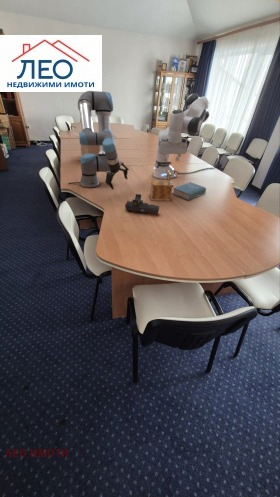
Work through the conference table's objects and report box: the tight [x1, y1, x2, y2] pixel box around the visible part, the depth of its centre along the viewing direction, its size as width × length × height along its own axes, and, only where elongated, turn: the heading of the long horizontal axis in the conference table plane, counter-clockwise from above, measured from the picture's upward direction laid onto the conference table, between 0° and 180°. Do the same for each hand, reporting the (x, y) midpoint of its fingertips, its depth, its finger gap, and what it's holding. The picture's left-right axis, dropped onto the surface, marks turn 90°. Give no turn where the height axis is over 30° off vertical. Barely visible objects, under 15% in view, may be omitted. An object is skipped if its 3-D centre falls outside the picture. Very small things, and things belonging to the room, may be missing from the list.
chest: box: [149, 182, 173, 202], centre depth 167 cm, size 14×10×11 cm
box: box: [70, 130, 100, 156], centre depth 229 cm, size 44×36×27 cm
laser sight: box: [124, 193, 160, 215], centre depth 146 cm, size 10×22×10 cm, turn 78°
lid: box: [150, 171, 175, 188], centre depth 161 cm, size 15×10×9 cm
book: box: [172, 181, 207, 201], centre depth 178 cm, size 23×16×5 cm
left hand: (119, 183), depth 168 cm, fingers open, 13 cm apart
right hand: (170, 160), depth 154 cm, fingers open, 8 cm apart
